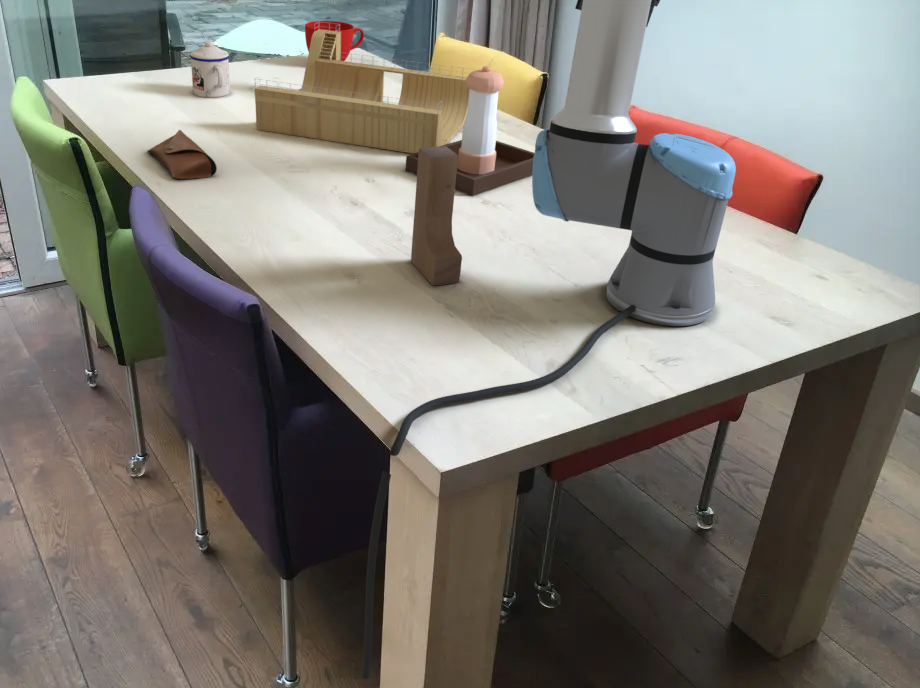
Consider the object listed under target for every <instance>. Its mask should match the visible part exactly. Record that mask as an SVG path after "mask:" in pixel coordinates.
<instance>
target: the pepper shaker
mask: <svg viewBox="0 0 920 688" xmlns="http://www.w3.org/2000/svg"><path fill="white" fill-rule="evenodd" d="M472 71H473V70H472ZM472 71H471V72H469V73H468V74H467V76H466V77H467V79H466V83H467V87H468V88H469V89H470V92H469V101H468V111H467V115H466V119H465V123H464V125H463V126H462V133H461V140H462V145H461V148H460V149H459V155H458V166H457V168H458V169H459V170H461V171H463V172H466V173H471V174H485V173H488V172H491V171H494V168H495V160H496V151H495V144H496V141H497V136H498V130H497V129H498V127H497V111H498V101H499V94H500V93H499V92H501V90H502V89H503V88H504V85H505V83H504V82H505V81H504V77H503V75H502V74H501V73H499V72H497V70H492V69H491V67H490V66H488V65H484V66H482V68H481V69H475V70H474V71H473V72H472Z"/></svg>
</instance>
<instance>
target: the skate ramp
mask: <svg viewBox="0 0 920 688" xmlns="http://www.w3.org/2000/svg"><path fill="white" fill-rule="evenodd" d="M324 23H327V22H324ZM333 24H335V23H333ZM318 27H319V26H318ZM321 27H323V26H321ZM316 28H317V27H316ZM330 28H332V27H330ZM338 30H339V32H338V31H337V30H336V31H330V30H321V29H319V30H317V31H315V32H314V33H313V35H312V39H311V44H310V49H309V52H308V54H307V60H306V64H305V70H304V75H303V80H302V84H301V87H300V88H296V89H293V87H290V88H286V87H278V85H274V86H271V85H269V84H267V85H264V83H263V84H262V83H260V81H261V80H262V79H261V78H258V80H259V81H257V77H256V78H254V79H253V80H254V102H255V103H254V104H255V125H256V130H257V131H258V130H259V131H265V132H270V133H277V134H284V135H292V136H298V137H304V138H311V139H316V140H324V141H331V142H335V143H337V142H338V143H343V144H350V145H355V146H356V145H357V146H361V147H362V146H364V147H369V148H374V149H375V148H376V149H381V150H382V149H383V150H389V151H395V152H401V153H408V154H414V153H418V152H419V149H420V148H427V147H439V146H442V145H446V144H449V143H450V141H451V140H452V139H453V138H454V137H455V135H456V134H457V133H458V132H459V131H460V130H461V129H462V128H463V127H464V123H465V119H466V115H467V111H468V101H469V92H470V89H469V88H468V87H467V83H466V79H467V77H468V76H464V75H454V74H452V73H453V72H456V73H457V71H450V74H447V73H441V71H442V69H441V68H442V66H444V67H446V65H444V64H439V68H438V72H432V71H422V70H418V69H419V66H418V65H416V66H414V67H415V68H416V70H415V69H409V68H408V69H407V68H401V67H396V65H397V63H396V60H397V61H398V59H396V58H394V63H393V62H391V64H393V65H394V67H393V66H385V64H387V62H385V60H386V59H389V60H390V58H389V57H387V58H386V57H381V56H378V58H380V59H383V65H376V64H374V63H375V62H376V63H379V61H377V60H375V59H374V58H375V56H373V55H372V56H371V58H372V61H371V60H369V59H367V61H369V62H372V64H369V63H363V61H364V59H363V57H364V56H365V57H367V55H364V54H360V56H361V59H360V61H361V62H354V61H352V59H353V60H356V58H354V57H352V55H353V53H351V52H350V53H348V54H349V55H350V61H346V60H345V61H341V53H342V52H341V32H340V24H339V28H338ZM355 55H358V56H359V54H358V53H355ZM345 58H346V59H348V57H345ZM402 61H404V62H405V67H410V65H409V64H408V63H407V62H408V61H406V60H405V59H402ZM410 62H411V63H414V61H413V60H410ZM419 63H420V64H422V62H420V61H418V64H419ZM407 64H408V65H407ZM426 64H427V65H430V63H427V62H426ZM399 65H401V66H403V64H400V63H399ZM434 65H436V66H438V64H437V63H434ZM422 68H424V69H426V67H425V66H424V67H423V66H422ZM450 68H454V66H451V65H450ZM457 68H460V69H462V71H461V74H464V73H465V71H464V69H466V70H467V69H468V70H469V68H467V67H462V66H461V67H459V66H457ZM430 69H431V70H432V69H433V70H434V68H433V67H432V68H431V67H430ZM475 70H476V68H473V69H472V71H471V72H473V71H475ZM445 71H447V72H449V70H448V69H445ZM385 72H386V73H393V74H400V75H401V74H402V79H401V90H400V94H399V95H400V96H399V97H396V99H397V100H398V102H396V103H393V102H389V101H390V98H391V99H393V97H390V96H389V97H386V96H385V95H384V88H385V87H384V86H385ZM256 81H257V82H256ZM268 81H269V82H270V80H267V79H266V82H268ZM258 82H259V83H260V84H259V85H258V86H257V83H258ZM273 82H274V83H277V81H276V80H273ZM280 83H282V84H283V83H284V82H283V81H282V82H281V81H280ZM287 84H289V85H291V83H288V82H287ZM294 85H295V86H296V85H297V86H299V84H295V83H294ZM384 98H387V101H384Z"/></svg>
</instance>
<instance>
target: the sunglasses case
mask: <svg viewBox="0 0 920 688" xmlns="http://www.w3.org/2000/svg"><path fill="white" fill-rule="evenodd" d="M147 153H148V154H150V155H152V156H153V157H154V158H155V160H157V161H158V162H159V163H160V164H161V165H162V166H163V167H164V168H165V169H166V170H167V172H168V173H169V174H170V176H171V177H172V178H173V179H176V180H177V179H178V180H197V179H198V180H199V179H207V178H211V177H213V176H214V175H215V174H216V173H217V164H216V162H215V160H214V159H213V158H212V157H211V156H210V155H209V154H208V153H207V152H206V151H205V150H203V149H202V148H201V146H199V145H198V144H197V143H196V142H195V141H194V140H192V139H191V138H190V137H189V136H188V135H186V133H184V132H183V131H182V129H178V130H177V132H176V133H174V134H173V135H172V136H170V137H168V138H167V139H165V140H163V141H161V142H159V143H158V144H156V145H154V146H153V147H151V148H150V149H147Z"/></svg>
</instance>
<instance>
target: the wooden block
mask: <svg viewBox="0 0 920 688" xmlns="http://www.w3.org/2000/svg"><path fill="white" fill-rule="evenodd" d="M457 162H458V156H457V154H455V153H454V152H453V151H452V150H450V149H449V148H448V147H446V146H441V147H427V148H420V149H419V155H418V169H417V175H416V184H415V185H416V186H415V199H414V213H413V225H412V226H413V227H412V238H411V252H410V253H411V255H410V263H412V265H413V266H414V267H415V268H416V269H417V270H418V271H419V272H420V273H421V275H422V276H423V277H424V278H425V279H426V280H427V281H428V282H429V283H430V284H431V286H434V287H435V286H443V285H450V284H458V283H460V281H461V280H460V279H461V271H462V262H463V256H462V254H461V252H460V251H459V249H458V248H457V247H456V244H455V241H454V236H453V213H454V202H455V193H456V190H455V182H456V172H457Z"/></svg>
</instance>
